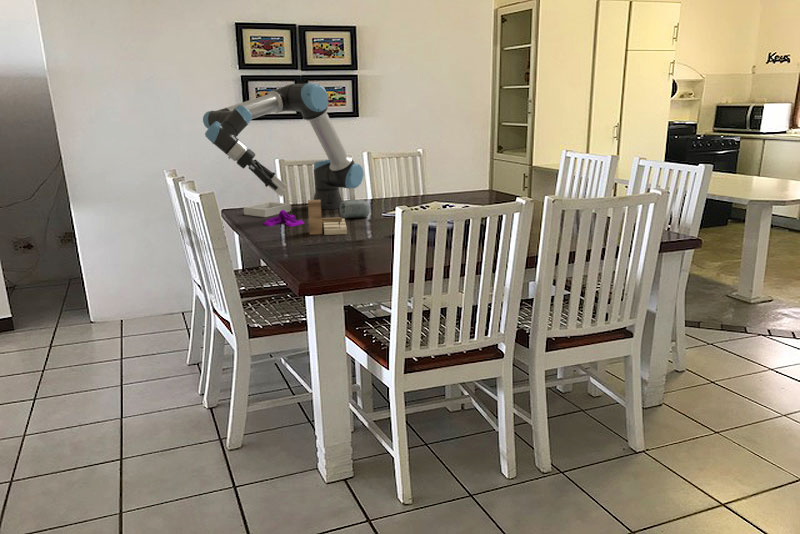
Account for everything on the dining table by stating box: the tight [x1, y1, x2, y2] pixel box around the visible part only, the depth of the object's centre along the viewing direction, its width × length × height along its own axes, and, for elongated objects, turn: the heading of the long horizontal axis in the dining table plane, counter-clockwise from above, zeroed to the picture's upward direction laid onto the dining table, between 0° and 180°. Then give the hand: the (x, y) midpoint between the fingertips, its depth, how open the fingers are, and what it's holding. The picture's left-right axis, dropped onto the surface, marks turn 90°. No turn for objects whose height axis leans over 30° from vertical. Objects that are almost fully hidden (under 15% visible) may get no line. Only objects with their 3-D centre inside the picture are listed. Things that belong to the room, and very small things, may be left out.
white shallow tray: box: [243, 201, 292, 218], centre depth 298 cm, size 17×14×4 cm
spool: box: [339, 199, 371, 220], centre depth 282 cm, size 14×10×10 cm
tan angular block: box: [307, 199, 343, 235], centre depth 252 cm, size 5×13×13 cm, turn 98°
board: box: [323, 218, 348, 236], centre depth 260 cm, size 22×9×2 cm, turn 8°
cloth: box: [263, 210, 305, 228], centre depth 276 cm, size 22×19×6 cm
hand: (284, 191), depth 250 cm, fingers open, 13 cm apart
